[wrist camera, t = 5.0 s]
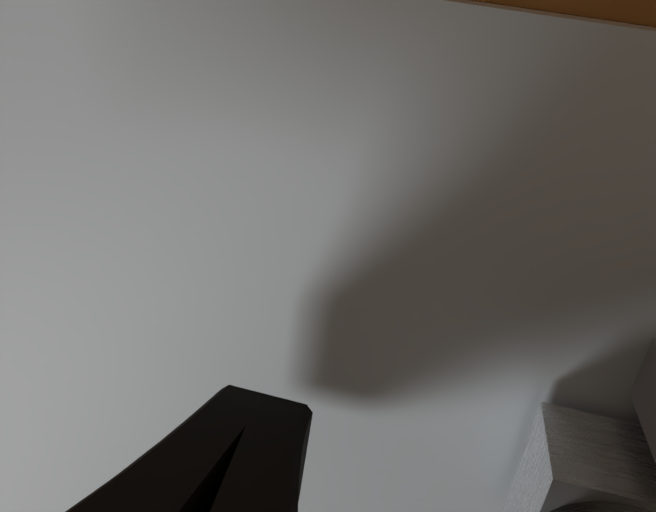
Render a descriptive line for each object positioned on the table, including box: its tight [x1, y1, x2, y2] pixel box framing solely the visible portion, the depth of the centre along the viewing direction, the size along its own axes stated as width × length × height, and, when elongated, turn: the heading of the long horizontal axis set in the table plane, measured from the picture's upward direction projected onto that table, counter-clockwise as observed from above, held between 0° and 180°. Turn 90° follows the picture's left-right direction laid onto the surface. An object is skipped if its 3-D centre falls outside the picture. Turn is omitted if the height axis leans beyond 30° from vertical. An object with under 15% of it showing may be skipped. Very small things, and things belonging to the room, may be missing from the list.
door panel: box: [0, 0, 656, 512], centre depth 10 cm, size 13×14×3 cm
